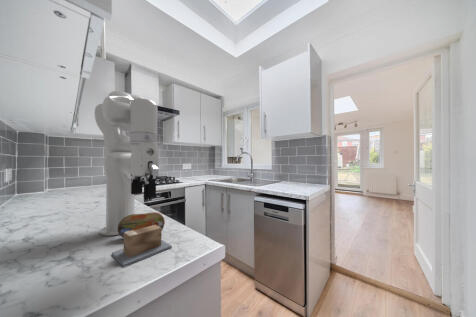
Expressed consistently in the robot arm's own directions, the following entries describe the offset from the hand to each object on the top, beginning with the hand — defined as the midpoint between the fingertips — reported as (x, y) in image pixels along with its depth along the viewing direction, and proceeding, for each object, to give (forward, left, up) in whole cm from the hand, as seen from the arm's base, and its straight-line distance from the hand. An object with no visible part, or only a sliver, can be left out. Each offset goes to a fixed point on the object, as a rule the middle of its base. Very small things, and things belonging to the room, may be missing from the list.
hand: (142, 195), depth 52 cm
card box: (0, 0, -16) cm, 16 cm away
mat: (0, 0, -17) cm, 17 cm away
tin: (-12, +4, -17) cm, 21 cm away
